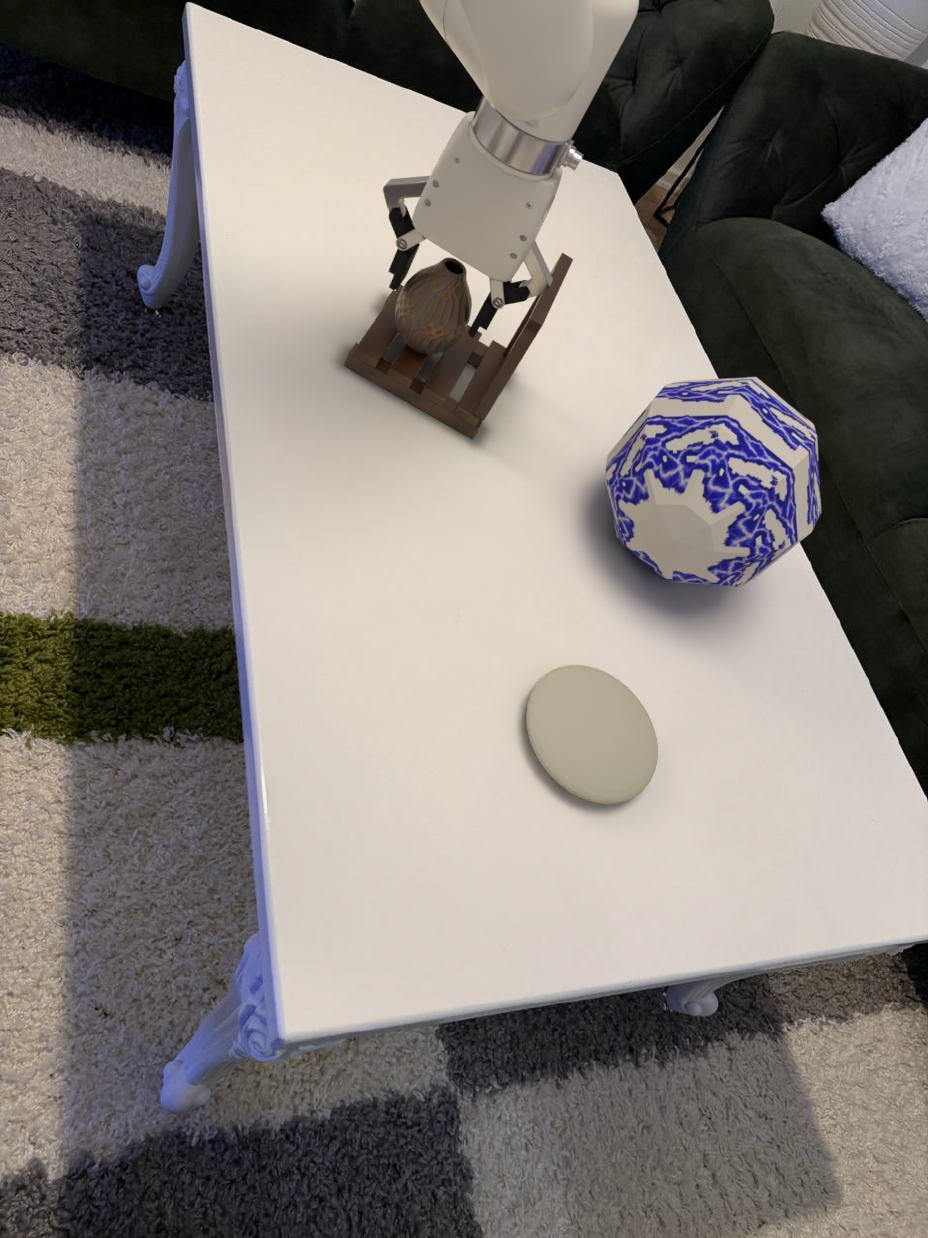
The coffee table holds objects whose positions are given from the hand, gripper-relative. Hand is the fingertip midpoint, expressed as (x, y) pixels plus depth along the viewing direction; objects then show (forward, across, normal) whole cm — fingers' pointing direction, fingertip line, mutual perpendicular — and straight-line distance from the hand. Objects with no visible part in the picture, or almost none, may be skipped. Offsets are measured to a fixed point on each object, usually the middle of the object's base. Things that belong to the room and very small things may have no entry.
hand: (436, 304), depth 83 cm
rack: (+7, -2, 0) cm, 7 cm away
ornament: (+7, -30, +5) cm, 31 cm away
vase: (+5, 0, 0) cm, 5 cm away
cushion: (+7, -28, +31) cm, 42 cm away
